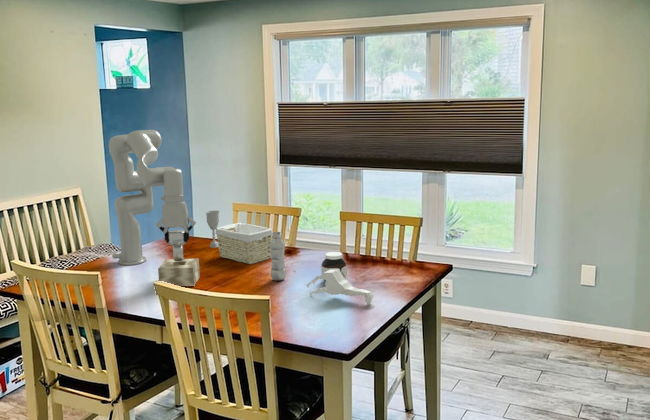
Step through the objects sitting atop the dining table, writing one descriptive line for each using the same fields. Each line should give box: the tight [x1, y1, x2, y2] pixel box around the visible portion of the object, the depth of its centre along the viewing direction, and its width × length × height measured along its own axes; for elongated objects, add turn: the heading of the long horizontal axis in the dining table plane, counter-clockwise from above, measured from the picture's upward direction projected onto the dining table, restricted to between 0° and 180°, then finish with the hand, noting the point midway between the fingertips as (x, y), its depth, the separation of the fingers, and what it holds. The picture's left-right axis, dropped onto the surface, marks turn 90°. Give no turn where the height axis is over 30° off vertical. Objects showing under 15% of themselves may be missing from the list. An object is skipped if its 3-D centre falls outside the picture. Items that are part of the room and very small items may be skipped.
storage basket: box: [215, 222, 274, 265], centre depth 289 cm, size 24×16×15 cm
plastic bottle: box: [270, 231, 287, 281], centre depth 252 cm, size 6×7×20 cm
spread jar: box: [320, 251, 348, 283], centre depth 251 cm, size 12×11×12 cm
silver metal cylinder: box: [168, 229, 187, 261], centre depth 252 cm, size 7×7×12 cm
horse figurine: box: [306, 269, 374, 306], centre depth 228 cm, size 5×16×25 cm
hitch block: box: [157, 257, 201, 287], centre depth 254 cm, size 14×14×8 cm
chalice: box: [204, 210, 220, 248], centre depth 312 cm, size 7×7×18 cm
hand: (177, 241), depth 252 cm, fingers closed on silver metal cylinder, 7 cm apart
